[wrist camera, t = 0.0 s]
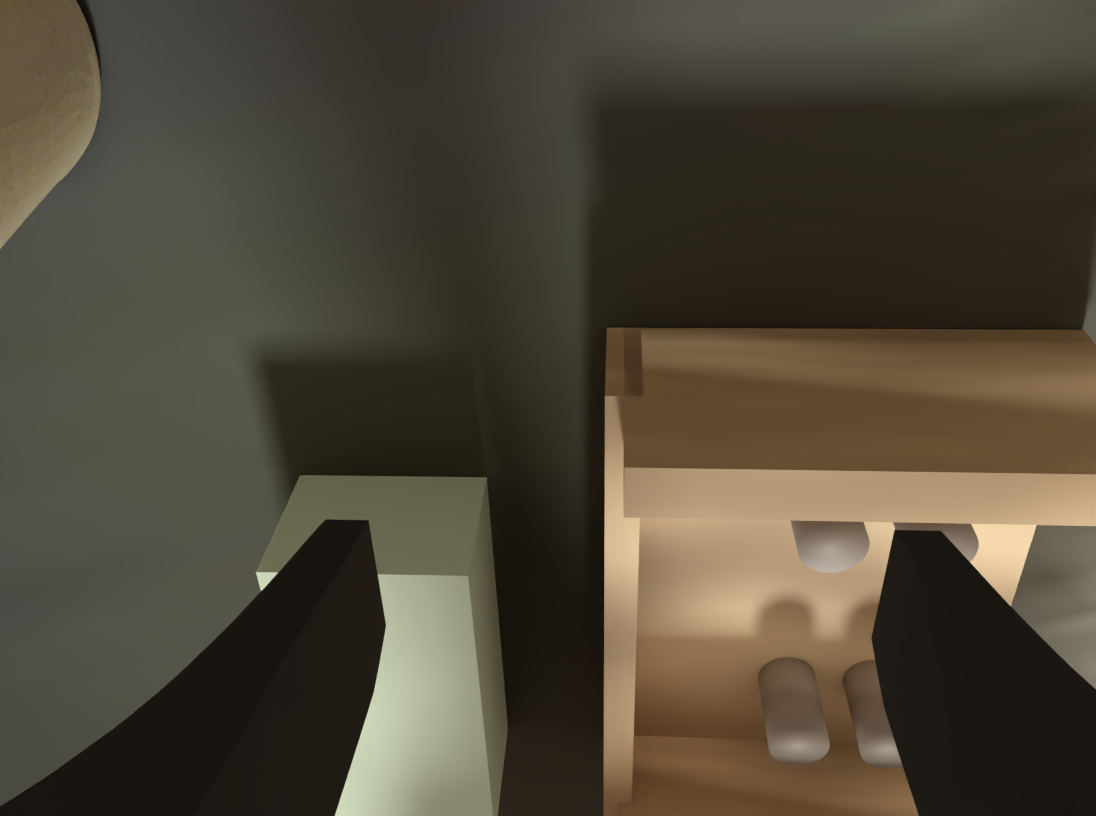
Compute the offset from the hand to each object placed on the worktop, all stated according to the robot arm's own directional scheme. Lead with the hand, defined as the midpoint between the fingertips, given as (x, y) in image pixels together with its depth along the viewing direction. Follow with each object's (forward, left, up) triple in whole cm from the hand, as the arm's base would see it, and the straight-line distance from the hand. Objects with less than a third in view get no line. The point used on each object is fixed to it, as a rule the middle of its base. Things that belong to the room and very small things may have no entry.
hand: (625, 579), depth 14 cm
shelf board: (-11, +6, -10) cm, 16 cm away
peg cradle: (-9, -6, -10) cm, 15 cm away
